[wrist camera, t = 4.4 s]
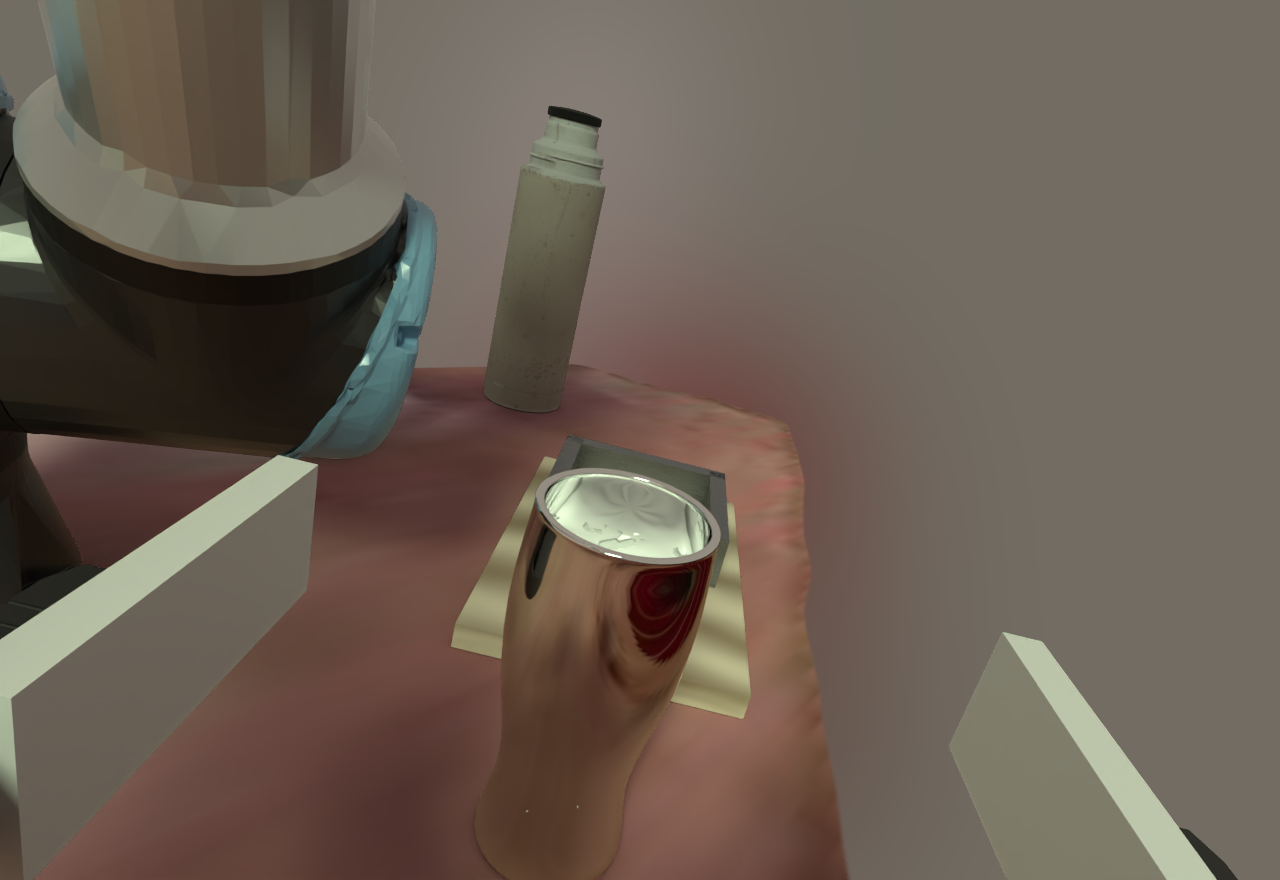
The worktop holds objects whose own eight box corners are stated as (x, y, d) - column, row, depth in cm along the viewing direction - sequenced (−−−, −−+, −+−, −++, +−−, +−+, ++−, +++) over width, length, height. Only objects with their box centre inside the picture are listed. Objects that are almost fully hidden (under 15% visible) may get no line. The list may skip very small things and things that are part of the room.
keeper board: (743, 719, 40) (751, 696, 40) (451, 646, 40) (455, 623, 39) (728, 519, 63) (733, 503, 62) (541, 472, 62) (544, 456, 62)
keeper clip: (714, 588, 49) (729, 541, 48) (529, 541, 49) (539, 494, 48) (712, 513, 59) (724, 473, 58) (560, 474, 59) (568, 434, 58)
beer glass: (451, 768, 33) (510, 458, 27) (601, 753, 36) (680, 470, 30) (476, 921, 27) (557, 565, 22) (653, 889, 30) (763, 566, 24)
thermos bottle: (523, 380, 83) (574, 111, 73) (575, 407, 79) (636, 126, 69) (466, 387, 77) (513, 94, 67) (520, 417, 73) (579, 109, 63)
